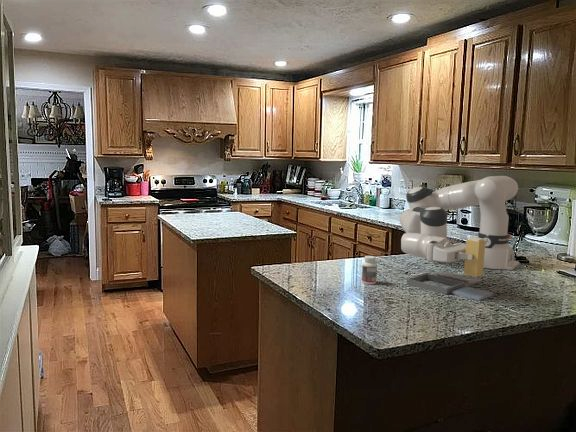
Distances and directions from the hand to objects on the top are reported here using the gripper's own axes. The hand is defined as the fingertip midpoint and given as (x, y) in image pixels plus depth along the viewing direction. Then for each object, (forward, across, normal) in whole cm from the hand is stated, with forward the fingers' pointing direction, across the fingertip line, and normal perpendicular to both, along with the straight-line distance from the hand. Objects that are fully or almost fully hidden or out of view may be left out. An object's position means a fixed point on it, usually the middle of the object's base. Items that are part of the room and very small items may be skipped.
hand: (477, 256), depth 161 cm
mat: (-1, 0, -14) cm, 14 cm away
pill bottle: (-32, +17, -14) cm, 39 cm away
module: (-1, 0, -7) cm, 7 cm away
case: (-14, -6, -14) cm, 21 cm away
